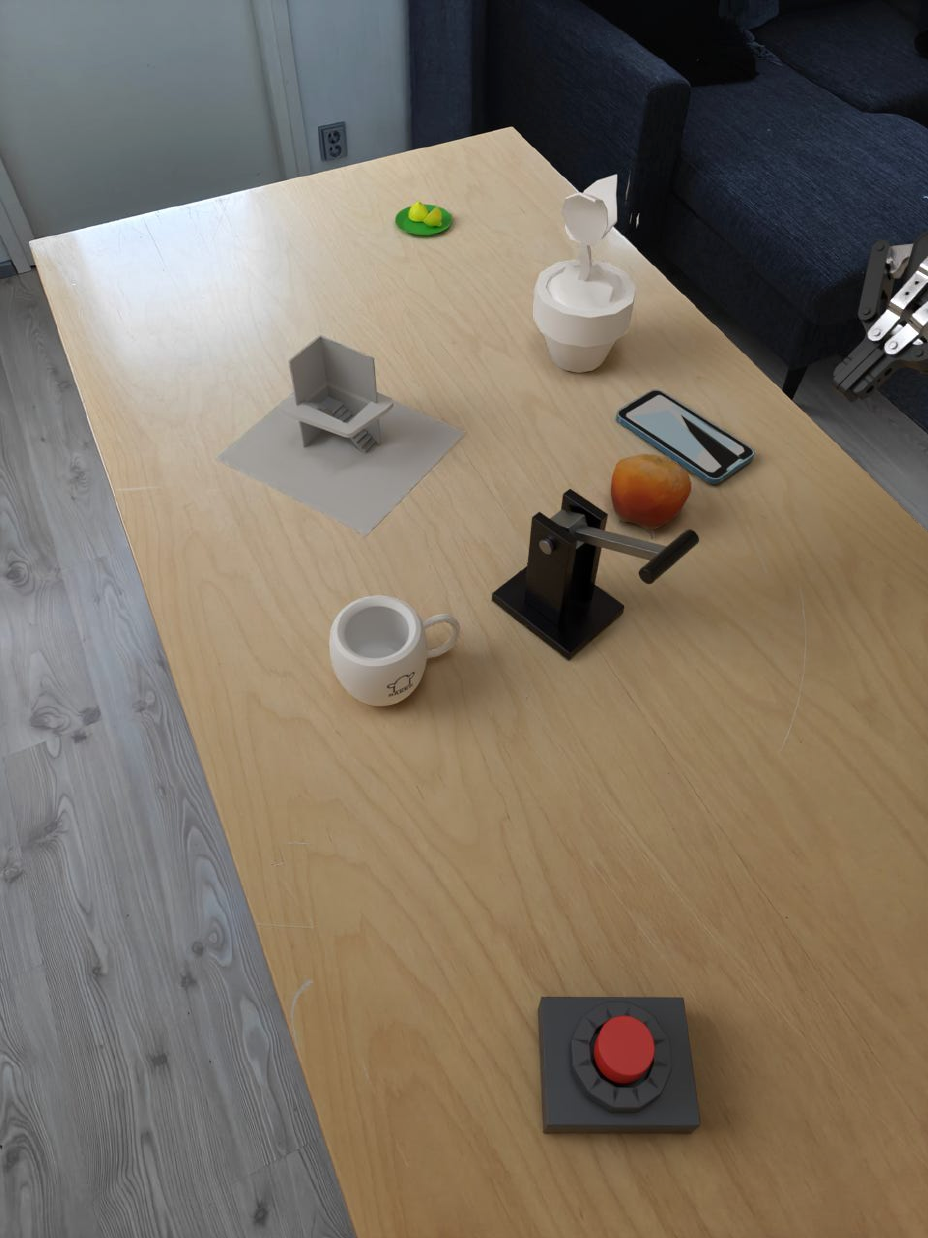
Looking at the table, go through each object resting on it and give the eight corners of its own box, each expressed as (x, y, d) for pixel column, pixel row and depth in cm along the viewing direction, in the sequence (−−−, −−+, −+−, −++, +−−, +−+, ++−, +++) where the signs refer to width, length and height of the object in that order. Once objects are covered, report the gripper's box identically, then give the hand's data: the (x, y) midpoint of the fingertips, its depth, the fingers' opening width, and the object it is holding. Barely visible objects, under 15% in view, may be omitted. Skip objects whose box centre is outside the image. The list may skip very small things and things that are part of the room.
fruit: (592, 530, 94) (613, 453, 91) (606, 513, 101) (625, 441, 98) (670, 552, 92) (694, 475, 89) (678, 533, 99) (701, 461, 96)
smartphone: (656, 386, 108) (758, 451, 101) (655, 393, 109) (756, 458, 102) (612, 413, 105) (715, 482, 98) (611, 420, 106) (713, 488, 99)
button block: (675, 1009, 67) (688, 990, 63) (691, 1134, 62) (707, 1121, 58) (537, 1008, 67) (542, 989, 63) (543, 1133, 62) (549, 1121, 58)
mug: (355, 733, 81) (346, 684, 75) (322, 660, 86) (312, 608, 79) (479, 685, 84) (481, 634, 78) (441, 617, 89) (440, 564, 82)
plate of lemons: (461, 216, 132) (461, 196, 130) (437, 244, 128) (437, 224, 125) (410, 203, 134) (410, 184, 132) (385, 230, 130) (384, 211, 127)
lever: (701, 550, 74) (697, 525, 73) (655, 591, 72) (649, 566, 70) (581, 520, 84) (575, 498, 82) (537, 555, 81) (530, 532, 80)
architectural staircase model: (365, 536, 95) (356, 451, 86) (214, 458, 102) (190, 372, 92) (466, 432, 105) (467, 346, 95) (322, 367, 111) (310, 281, 102)
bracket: (623, 613, 89) (645, 521, 79) (568, 661, 86) (584, 572, 76) (546, 557, 93) (557, 463, 83) (491, 600, 90) (495, 508, 80)
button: (645, 1025, 62) (651, 1015, 60) (651, 1084, 60) (658, 1076, 58) (591, 1025, 62) (596, 1015, 60) (596, 1084, 60) (601, 1075, 58)
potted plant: (600, 400, 108) (633, 192, 88) (512, 368, 111) (525, 161, 92) (643, 343, 115) (683, 137, 95) (558, 314, 118) (580, 110, 98)
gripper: (961, 114, 61) (764, 322, 68) (1127, 209, 54) (890, 431, 61) (983, 176, 67) (799, 362, 74) (1137, 268, 60) (919, 466, 66)
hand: (841, 393), depth 67 cm, fingers closed
